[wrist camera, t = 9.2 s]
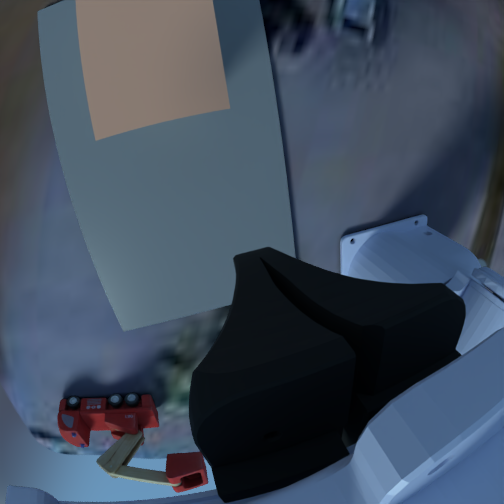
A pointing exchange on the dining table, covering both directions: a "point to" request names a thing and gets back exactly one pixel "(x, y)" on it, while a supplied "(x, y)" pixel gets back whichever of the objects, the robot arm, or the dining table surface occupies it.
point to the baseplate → (173, 176)
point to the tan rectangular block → (149, 62)
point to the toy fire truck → (127, 438)
